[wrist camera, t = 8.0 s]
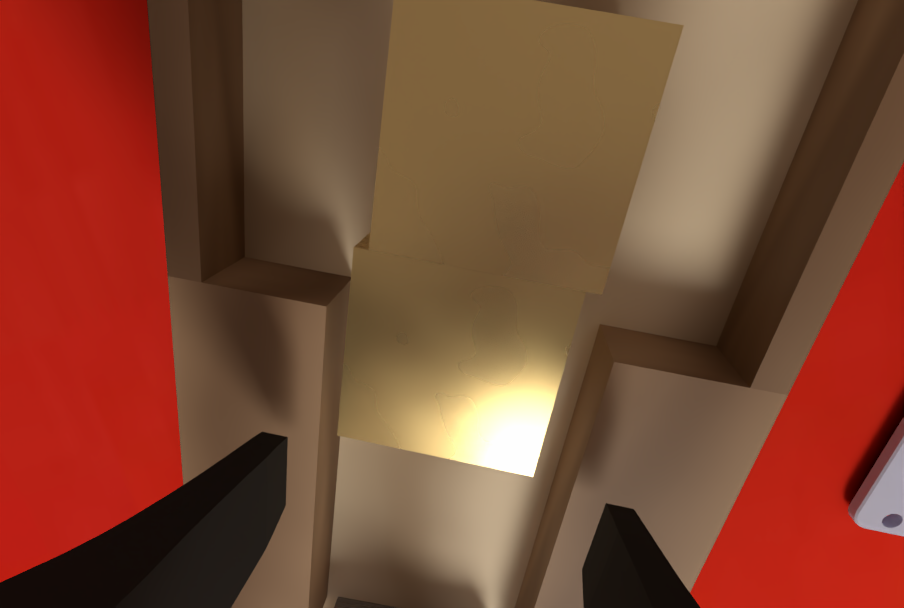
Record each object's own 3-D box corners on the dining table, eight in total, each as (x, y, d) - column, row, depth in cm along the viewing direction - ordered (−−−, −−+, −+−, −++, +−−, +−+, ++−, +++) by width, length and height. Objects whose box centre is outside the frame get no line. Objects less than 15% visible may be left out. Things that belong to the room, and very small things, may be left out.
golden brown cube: (624, 51, 10) (683, 25, 7) (575, 234, 12) (602, 294, 8) (437, 19, 11) (395, -23, 7) (413, 204, 12) (368, 249, 9)
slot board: (936, -151, 9) (1110, -254, 7) (570, 718, 21) (579, 814, 18) (226, -249, 10) (118, -378, 7) (242, 643, 21) (201, 725, 18)
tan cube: (564, 233, 12) (586, 292, 8) (528, 374, 14) (533, 477, 10) (402, 202, 12) (353, 247, 9) (384, 345, 14) (337, 435, 10)
